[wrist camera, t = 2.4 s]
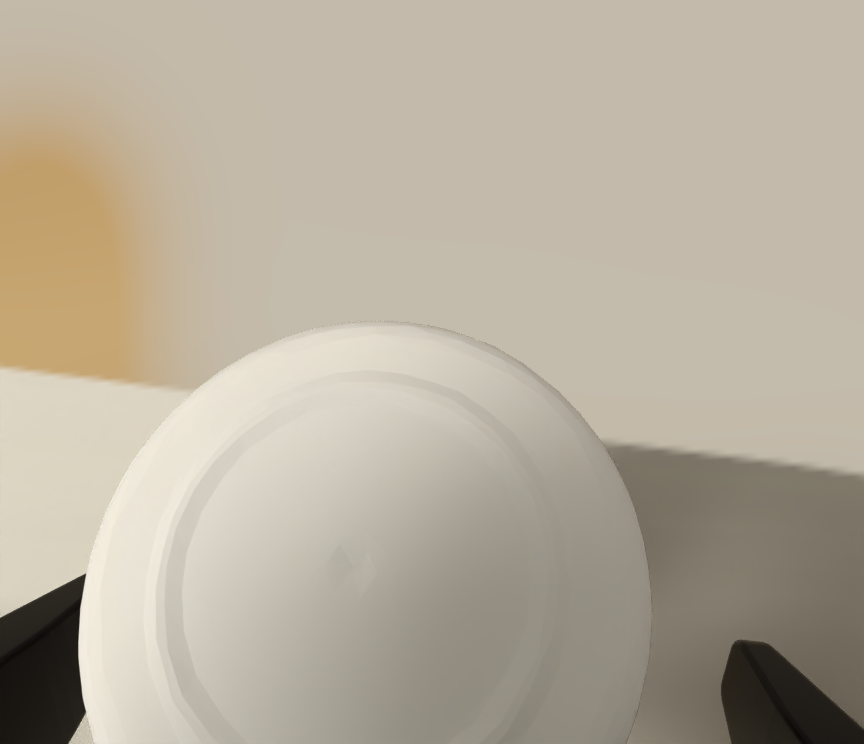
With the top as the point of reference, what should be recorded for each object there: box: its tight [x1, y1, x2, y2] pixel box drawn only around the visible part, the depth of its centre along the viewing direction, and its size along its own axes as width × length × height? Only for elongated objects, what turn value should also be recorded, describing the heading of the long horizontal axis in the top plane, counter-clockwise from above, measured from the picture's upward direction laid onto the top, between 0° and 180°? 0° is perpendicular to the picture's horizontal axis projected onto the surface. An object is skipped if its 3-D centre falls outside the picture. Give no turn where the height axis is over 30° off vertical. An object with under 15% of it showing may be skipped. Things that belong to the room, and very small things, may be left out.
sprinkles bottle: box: [78, 321, 652, 744], centre depth 11 cm, size 5×5×13 cm
